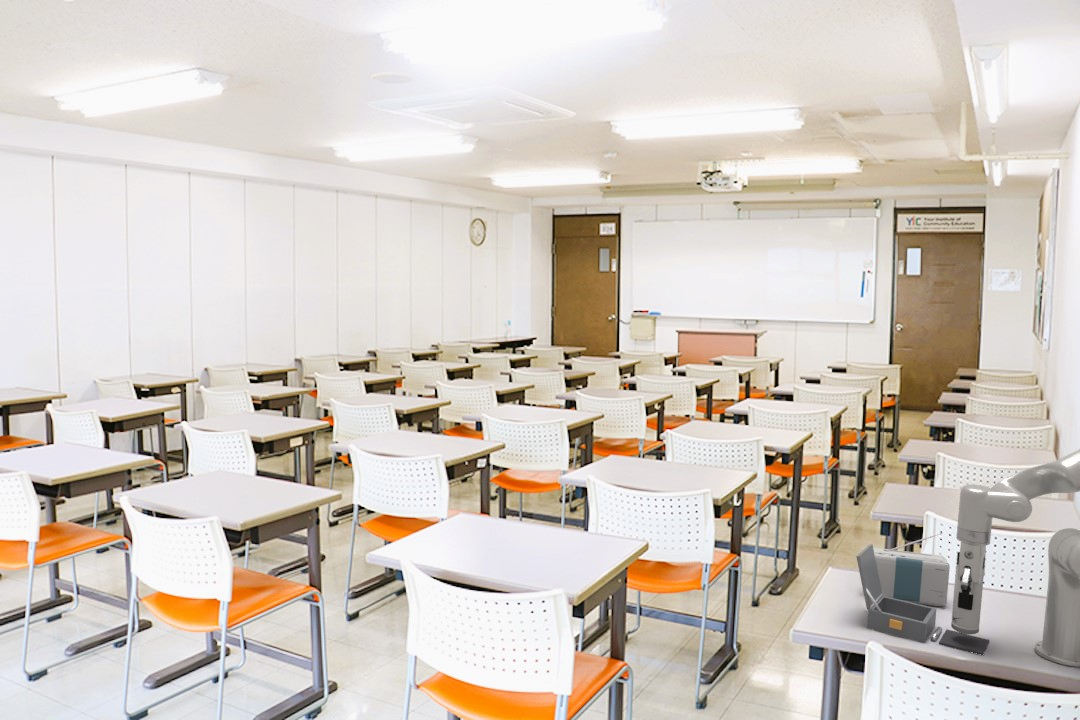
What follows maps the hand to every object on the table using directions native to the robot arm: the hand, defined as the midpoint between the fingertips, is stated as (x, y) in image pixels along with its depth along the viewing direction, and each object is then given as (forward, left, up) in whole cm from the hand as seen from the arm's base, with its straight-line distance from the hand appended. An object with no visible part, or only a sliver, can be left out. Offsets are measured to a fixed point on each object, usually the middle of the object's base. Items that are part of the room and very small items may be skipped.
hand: (967, 603), depth 213 cm
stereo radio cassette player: (+19, -22, -11) cm, 31 cm away
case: (+17, 0, -10) cm, 20 cm away
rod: (+6, 0, -10) cm, 12 cm away
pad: (0, 0, -10) cm, 10 cm away
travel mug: (0, 0, -7) cm, 7 cm away
